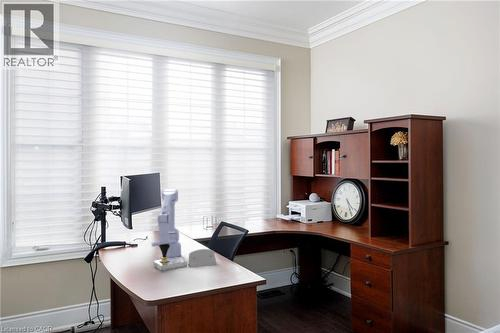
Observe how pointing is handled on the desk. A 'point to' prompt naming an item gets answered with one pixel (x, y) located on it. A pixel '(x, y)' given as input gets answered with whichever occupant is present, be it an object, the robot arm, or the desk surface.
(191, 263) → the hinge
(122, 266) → the desk surface
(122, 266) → the desk surface
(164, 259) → the bushing
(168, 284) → the desk surface
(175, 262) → the jig
